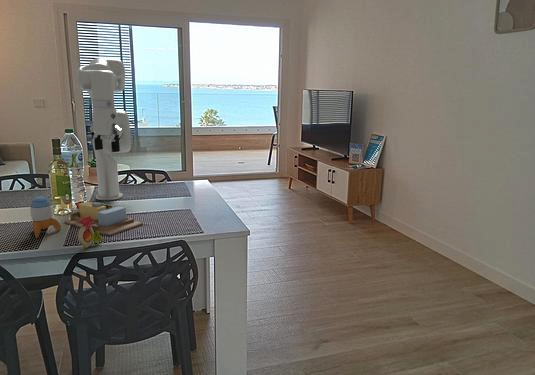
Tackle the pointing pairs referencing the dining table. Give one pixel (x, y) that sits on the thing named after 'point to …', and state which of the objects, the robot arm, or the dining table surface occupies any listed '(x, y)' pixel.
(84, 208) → the block
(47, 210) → the toy rocket
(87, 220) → the bird rattle
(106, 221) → the plank
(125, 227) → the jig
